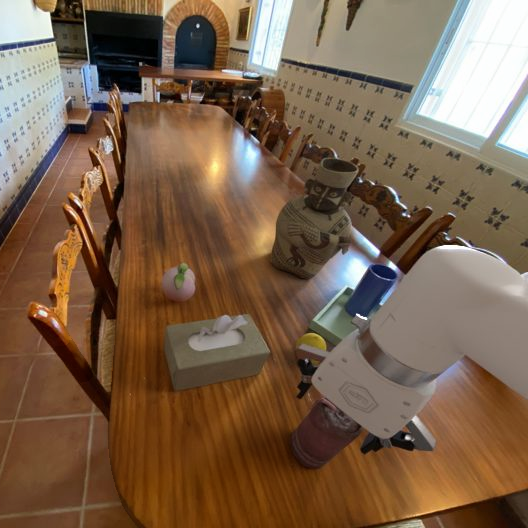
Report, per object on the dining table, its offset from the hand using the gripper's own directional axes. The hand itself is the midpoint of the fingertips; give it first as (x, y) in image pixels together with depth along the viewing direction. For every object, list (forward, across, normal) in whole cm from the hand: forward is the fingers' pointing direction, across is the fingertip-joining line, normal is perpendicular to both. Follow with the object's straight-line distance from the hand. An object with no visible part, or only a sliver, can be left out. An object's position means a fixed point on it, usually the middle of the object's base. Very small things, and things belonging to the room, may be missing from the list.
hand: (332, 417), depth 43 cm
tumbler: (+12, -6, +40) cm, 42 cm away
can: (+12, 0, 0) cm, 12 cm away
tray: (+12, -2, +35) cm, 37 cm away
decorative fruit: (+13, -39, +7) cm, 42 cm away
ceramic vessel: (+12, -28, +47) cm, 56 cm away
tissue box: (+12, -22, 0) cm, 25 cm away
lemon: (+12, -8, +16) cm, 22 cm away
